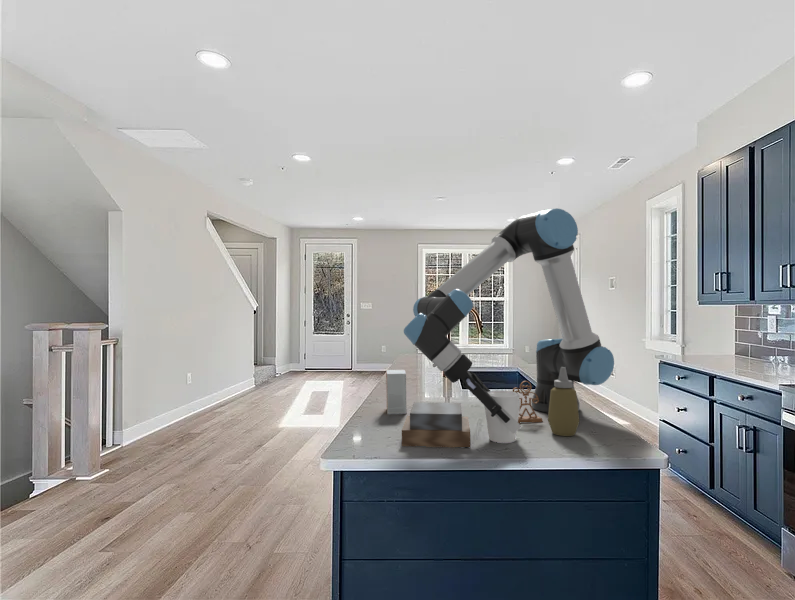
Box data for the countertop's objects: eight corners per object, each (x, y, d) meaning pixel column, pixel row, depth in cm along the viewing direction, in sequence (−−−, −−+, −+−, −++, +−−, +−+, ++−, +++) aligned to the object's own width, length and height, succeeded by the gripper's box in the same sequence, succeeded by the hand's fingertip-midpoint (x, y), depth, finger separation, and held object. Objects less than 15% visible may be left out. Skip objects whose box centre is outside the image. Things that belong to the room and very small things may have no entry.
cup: (517, 435, 131) (517, 390, 131) (522, 445, 122) (522, 397, 122) (483, 434, 132) (483, 390, 131) (486, 444, 123) (485, 397, 122)
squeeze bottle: (564, 439, 126) (563, 370, 126) (541, 432, 133) (541, 366, 133) (586, 435, 130) (585, 368, 130) (563, 428, 137) (562, 364, 137)
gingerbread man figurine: (536, 418, 148) (536, 379, 148) (542, 421, 144) (542, 381, 144) (509, 420, 147) (509, 380, 147) (514, 423, 143) (514, 382, 143)
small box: (386, 408, 163) (386, 369, 163) (405, 408, 163) (405, 369, 163) (386, 414, 155) (386, 373, 155) (406, 414, 155) (406, 373, 155)
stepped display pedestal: (468, 431, 135) (468, 402, 135) (470, 447, 120) (470, 415, 120) (407, 429, 137) (406, 401, 137) (401, 446, 122) (401, 414, 122)
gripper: (443, 366, 139) (500, 423, 137) (441, 379, 117) (509, 447, 116) (461, 348, 138) (519, 405, 137) (463, 358, 117) (532, 425, 115)
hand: (514, 424), depth 126 cm, fingers closed on cup, 9 cm apart
